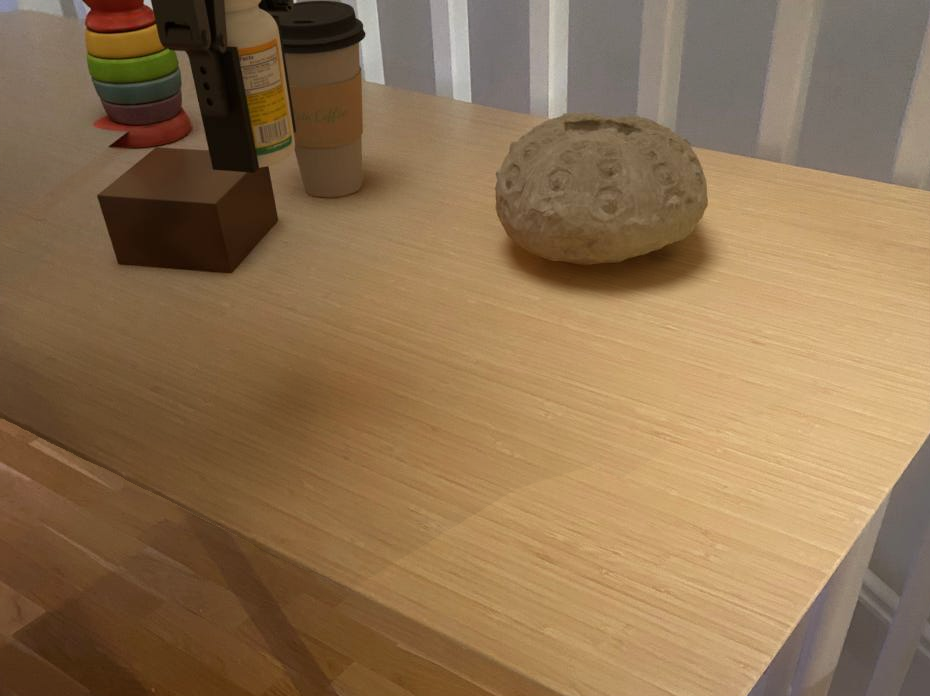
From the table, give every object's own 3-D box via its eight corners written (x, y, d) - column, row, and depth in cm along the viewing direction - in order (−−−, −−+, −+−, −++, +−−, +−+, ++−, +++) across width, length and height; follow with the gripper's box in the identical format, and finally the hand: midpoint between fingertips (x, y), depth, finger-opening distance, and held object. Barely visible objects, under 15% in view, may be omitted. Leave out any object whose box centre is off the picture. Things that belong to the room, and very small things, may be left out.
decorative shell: (593, 187, 95) (598, 73, 88) (743, 243, 86) (762, 120, 79) (456, 247, 87) (449, 127, 80) (604, 316, 78) (612, 187, 71)
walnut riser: (117, 263, 88) (96, 195, 83) (172, 212, 95) (155, 146, 91) (231, 273, 85) (215, 203, 81) (278, 219, 93) (266, 153, 88)
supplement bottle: (288, 170, 60) (259, -14, 53) (201, 171, 60) (161, -13, 53) (303, 137, 63) (277, -40, 56) (221, 137, 64) (186, -39, 57)
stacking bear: (144, 111, 115) (96, -74, 102) (214, 122, 112) (173, -68, 99) (81, 143, 109) (21, -50, 96) (153, 155, 105) (101, -42, 92)
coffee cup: (302, 212, 94) (272, 34, 83) (275, 178, 100) (244, 7, 89) (394, 193, 96) (377, 17, 85) (362, 160, 102) (343, -8, 91)
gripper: (136, -388, 38) (252, 216, 55) (308, -393, 50) (360, 102, 67) (-34, -381, 39) (131, 206, 56) (174, -388, 51) (258, 96, 68)
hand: (255, 149), depth 61 cm, fingers closed on supplement bottle, 5 cm apart
